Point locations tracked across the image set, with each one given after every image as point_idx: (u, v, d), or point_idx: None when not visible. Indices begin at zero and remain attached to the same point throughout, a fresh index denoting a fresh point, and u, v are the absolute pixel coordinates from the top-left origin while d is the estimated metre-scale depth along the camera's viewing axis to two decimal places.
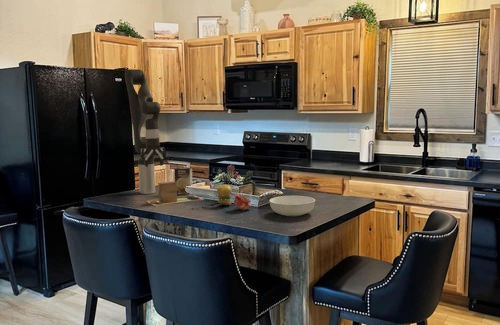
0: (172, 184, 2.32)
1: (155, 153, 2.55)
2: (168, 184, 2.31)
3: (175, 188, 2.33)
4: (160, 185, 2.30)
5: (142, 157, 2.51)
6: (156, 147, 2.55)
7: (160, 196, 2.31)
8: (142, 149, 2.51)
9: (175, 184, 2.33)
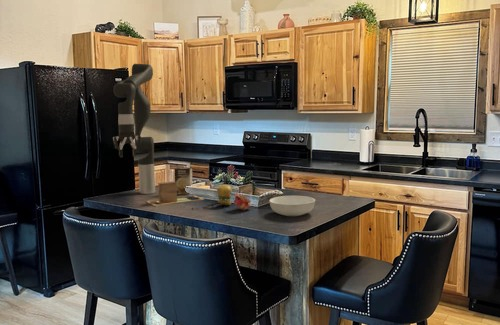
0: (172, 184, 2.32)
1: (128, 141, 2.27)
2: (168, 184, 2.31)
3: (175, 188, 2.33)
4: (160, 185, 2.30)
5: (116, 146, 2.24)
6: (130, 134, 2.28)
7: (160, 196, 2.31)
8: (114, 138, 2.23)
9: (175, 184, 2.33)
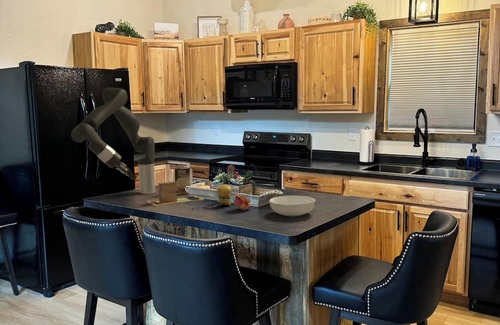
0: (172, 184, 2.32)
1: None
2: (168, 184, 2.31)
3: (175, 188, 2.33)
4: (160, 185, 2.30)
5: (124, 173, 2.24)
6: (117, 165, 2.17)
7: (160, 196, 2.31)
8: None
9: (175, 184, 2.33)
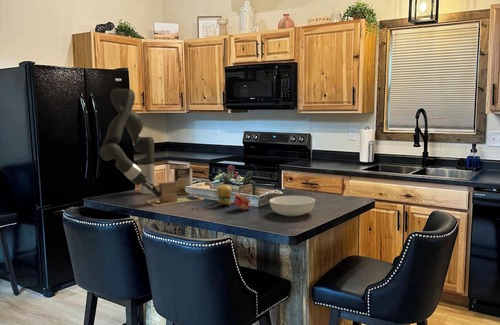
0: (172, 184, 2.32)
1: None
2: (168, 184, 2.31)
3: (175, 188, 2.33)
4: (160, 185, 2.30)
5: None
6: (142, 183, 2.24)
7: (161, 196, 2.31)
8: (142, 185, 2.32)
9: (175, 184, 2.33)
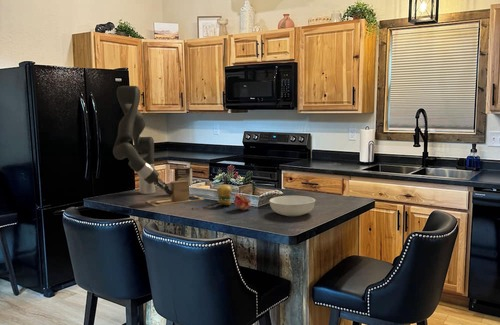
0: (184, 183, 2.35)
1: None
2: (180, 183, 2.34)
3: (187, 187, 2.36)
4: (172, 184, 2.33)
5: (160, 188, 2.34)
6: (155, 182, 2.28)
7: (172, 194, 2.34)
8: None
9: (187, 183, 2.36)
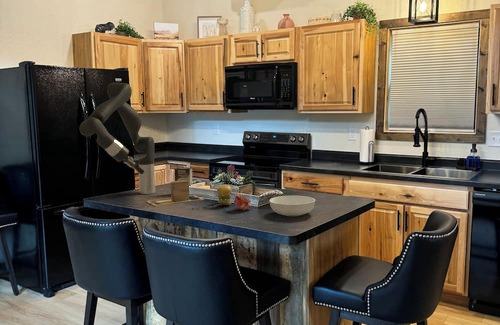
0: (184, 183, 2.35)
1: None
2: (180, 183, 2.34)
3: (187, 187, 2.36)
4: (172, 184, 2.33)
5: None
6: (124, 159, 2.18)
7: (173, 194, 2.34)
8: None
9: (187, 183, 2.36)
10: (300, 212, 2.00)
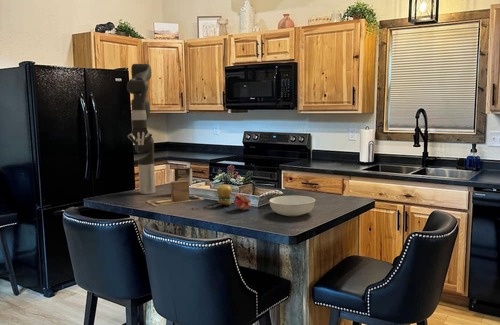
0: (184, 183, 2.35)
1: (140, 135, 2.34)
2: (180, 183, 2.34)
3: (187, 187, 2.36)
4: (172, 184, 2.33)
5: (135, 142, 2.33)
6: (143, 129, 2.35)
7: (173, 194, 2.34)
8: (129, 136, 2.31)
9: (187, 183, 2.36)
10: (300, 212, 2.00)
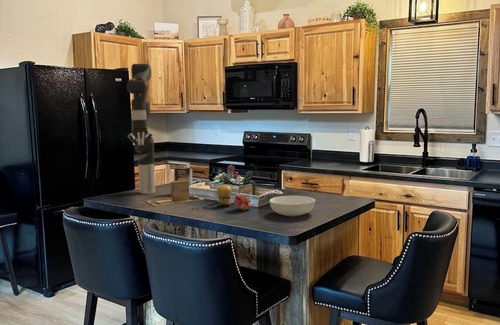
0: (184, 183, 2.35)
1: (140, 135, 2.34)
2: (180, 183, 2.34)
3: (187, 187, 2.36)
4: (172, 184, 2.33)
5: (135, 142, 2.33)
6: (143, 129, 2.35)
7: (173, 194, 2.34)
8: (129, 136, 2.31)
9: (187, 183, 2.36)
10: (300, 212, 2.00)
